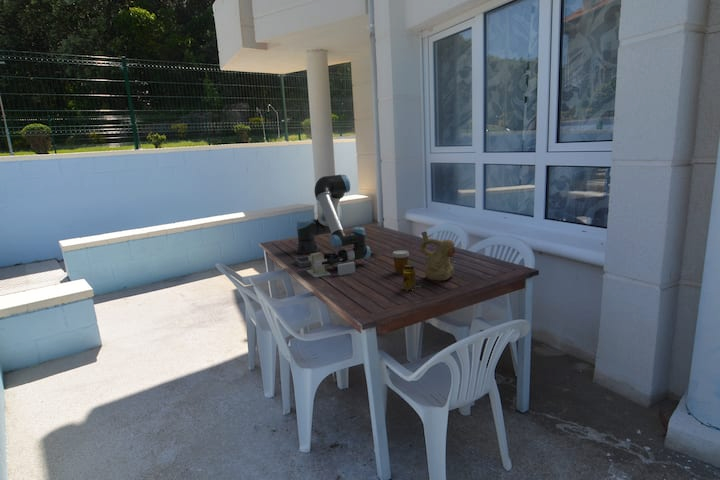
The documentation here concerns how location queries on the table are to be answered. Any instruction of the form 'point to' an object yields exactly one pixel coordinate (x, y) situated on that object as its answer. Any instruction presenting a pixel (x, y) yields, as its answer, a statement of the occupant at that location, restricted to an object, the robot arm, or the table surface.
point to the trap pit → (303, 262)
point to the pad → (318, 274)
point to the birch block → (315, 258)
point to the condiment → (409, 277)
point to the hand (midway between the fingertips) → (312, 261)
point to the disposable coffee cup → (400, 260)
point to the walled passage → (345, 268)
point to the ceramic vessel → (438, 258)
